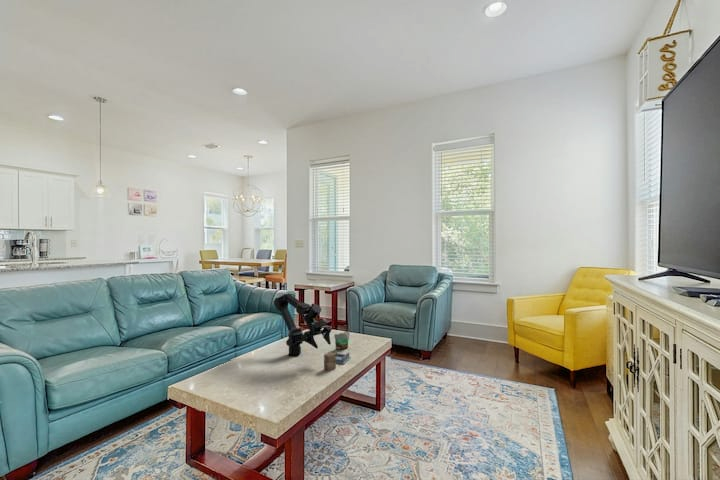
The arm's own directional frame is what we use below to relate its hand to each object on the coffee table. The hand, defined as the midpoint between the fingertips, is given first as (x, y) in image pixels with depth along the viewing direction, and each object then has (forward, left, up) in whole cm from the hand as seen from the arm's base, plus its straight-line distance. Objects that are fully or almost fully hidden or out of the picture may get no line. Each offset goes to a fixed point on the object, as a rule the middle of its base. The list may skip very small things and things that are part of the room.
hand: (323, 346), depth 184 cm
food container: (+5, +32, -11) cm, 34 cm away
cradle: (+6, +11, -11) cm, 17 cm away
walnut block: (+4, -3, -11) cm, 12 cm away
